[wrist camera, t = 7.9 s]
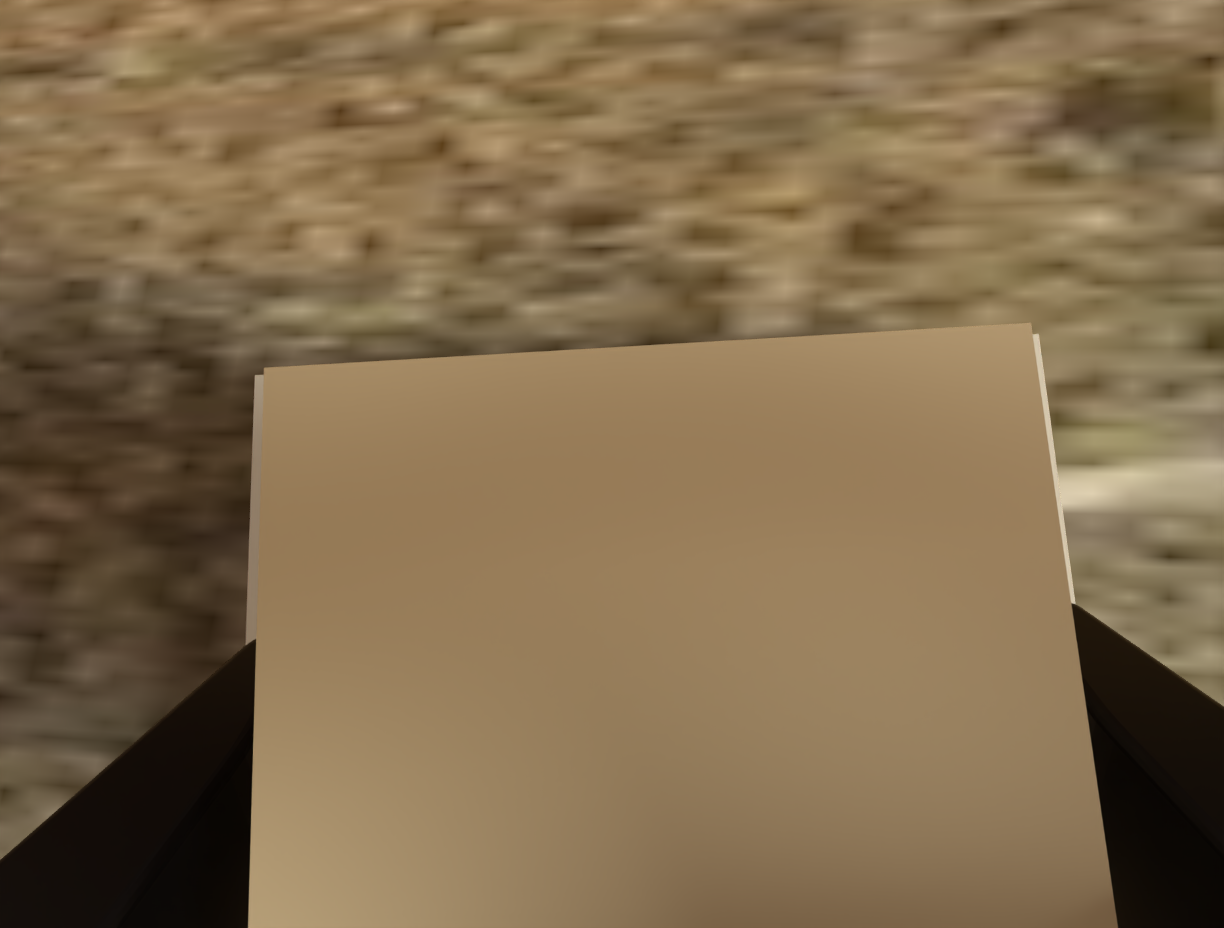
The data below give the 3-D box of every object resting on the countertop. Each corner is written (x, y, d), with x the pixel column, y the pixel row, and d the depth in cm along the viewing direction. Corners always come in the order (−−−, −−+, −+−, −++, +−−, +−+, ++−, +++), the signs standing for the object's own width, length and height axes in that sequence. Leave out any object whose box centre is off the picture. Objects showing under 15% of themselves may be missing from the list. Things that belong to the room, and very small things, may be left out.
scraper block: (808, 852, 17) (1155, 1199, 5) (528, 864, 17) (240, 1229, 5) (784, 571, 18) (1031, 322, 6) (520, 585, 18) (264, 367, 6)
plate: (1059, 899, 19) (1120, 929, 16) (287, 926, 19) (234, 959, 17) (994, 375, 21) (1038, 334, 18) (300, 411, 21) (254, 374, 19)
